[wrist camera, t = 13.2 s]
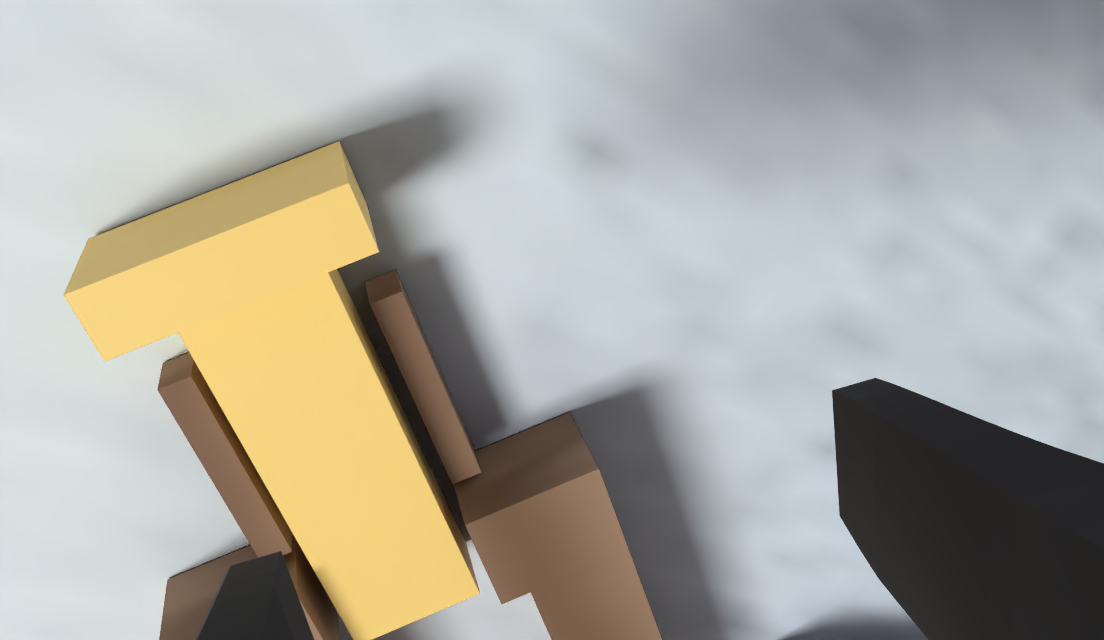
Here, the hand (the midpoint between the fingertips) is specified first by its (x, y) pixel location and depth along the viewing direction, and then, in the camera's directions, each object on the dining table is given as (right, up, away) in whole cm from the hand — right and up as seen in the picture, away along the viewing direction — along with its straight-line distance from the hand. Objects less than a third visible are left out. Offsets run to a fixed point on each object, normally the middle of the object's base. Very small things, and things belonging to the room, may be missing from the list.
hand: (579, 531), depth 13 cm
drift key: (-5, +1, +10) cm, 11 cm away
